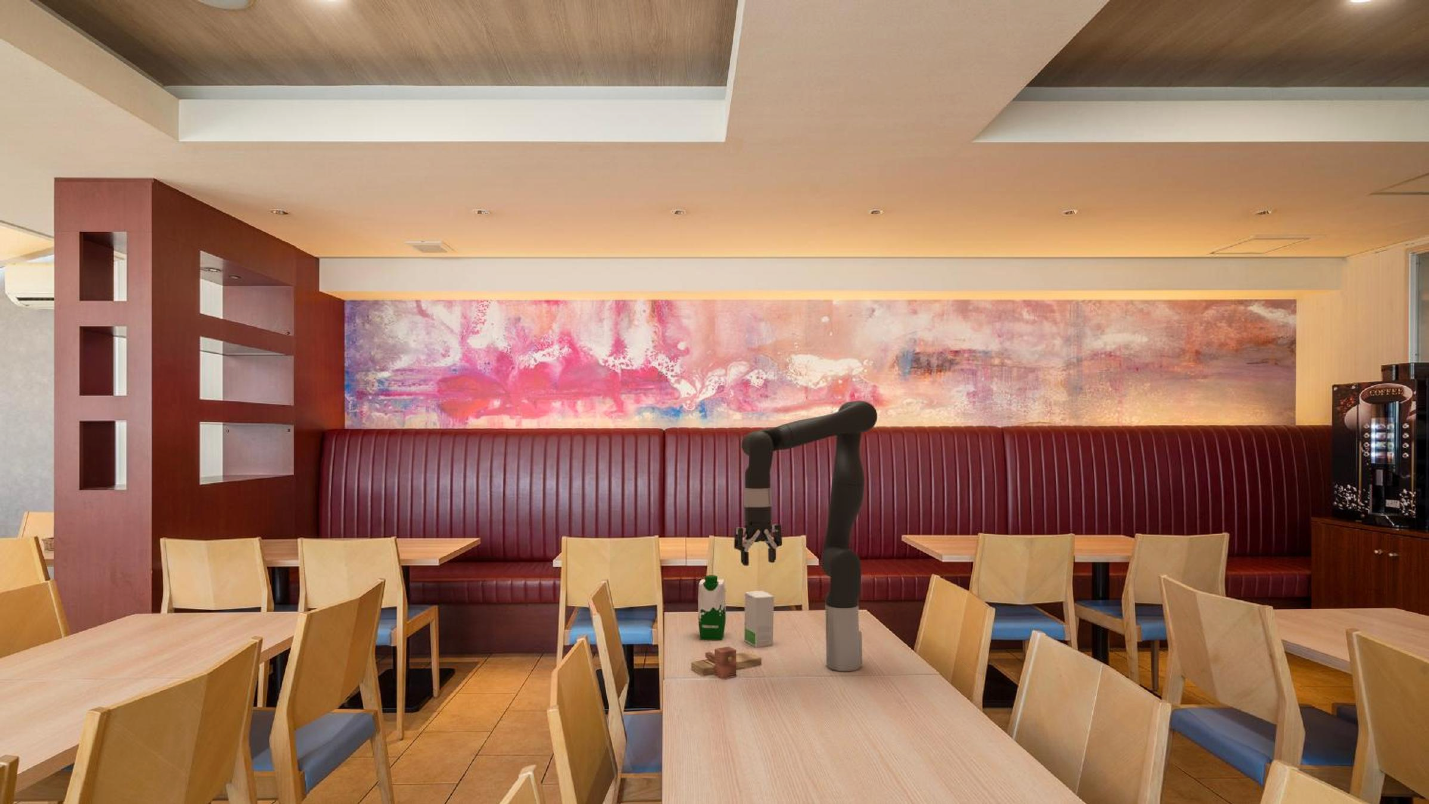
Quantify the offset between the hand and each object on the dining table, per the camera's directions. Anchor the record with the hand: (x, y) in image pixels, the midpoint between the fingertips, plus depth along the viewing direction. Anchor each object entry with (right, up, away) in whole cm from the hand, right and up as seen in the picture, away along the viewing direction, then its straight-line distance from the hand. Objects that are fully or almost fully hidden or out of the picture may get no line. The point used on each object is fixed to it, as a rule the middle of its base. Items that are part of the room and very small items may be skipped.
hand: (758, 563), depth 202 cm
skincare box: (+2, -32, +30) cm, 43 cm away
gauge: (-11, -30, +2) cm, 32 cm away
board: (-9, -31, +6) cm, 32 cm away
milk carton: (-13, -32, +37) cm, 51 cm away
